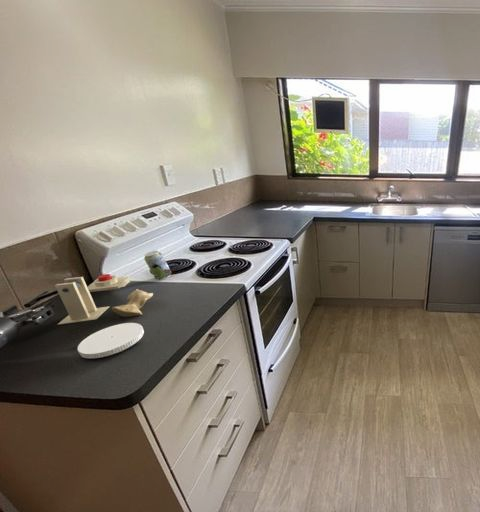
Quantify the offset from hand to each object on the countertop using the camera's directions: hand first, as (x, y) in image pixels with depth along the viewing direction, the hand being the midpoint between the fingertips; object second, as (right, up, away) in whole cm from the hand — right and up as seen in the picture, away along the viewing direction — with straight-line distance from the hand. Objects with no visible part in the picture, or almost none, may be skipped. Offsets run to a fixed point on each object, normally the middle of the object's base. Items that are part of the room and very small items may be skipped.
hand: (34, 306), depth 88 cm
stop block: (-3, +3, +27) cm, 27 cm away
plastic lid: (+29, -11, -4) cm, 31 cm away
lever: (+4, +3, +3) cm, 6 cm away
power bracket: (+8, -5, +8) cm, 12 cm away
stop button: (-3, +6, +26) cm, 26 cm away
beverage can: (+12, +6, +35) cm, 38 cm away
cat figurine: (+22, -4, +11) cm, 25 cm away
